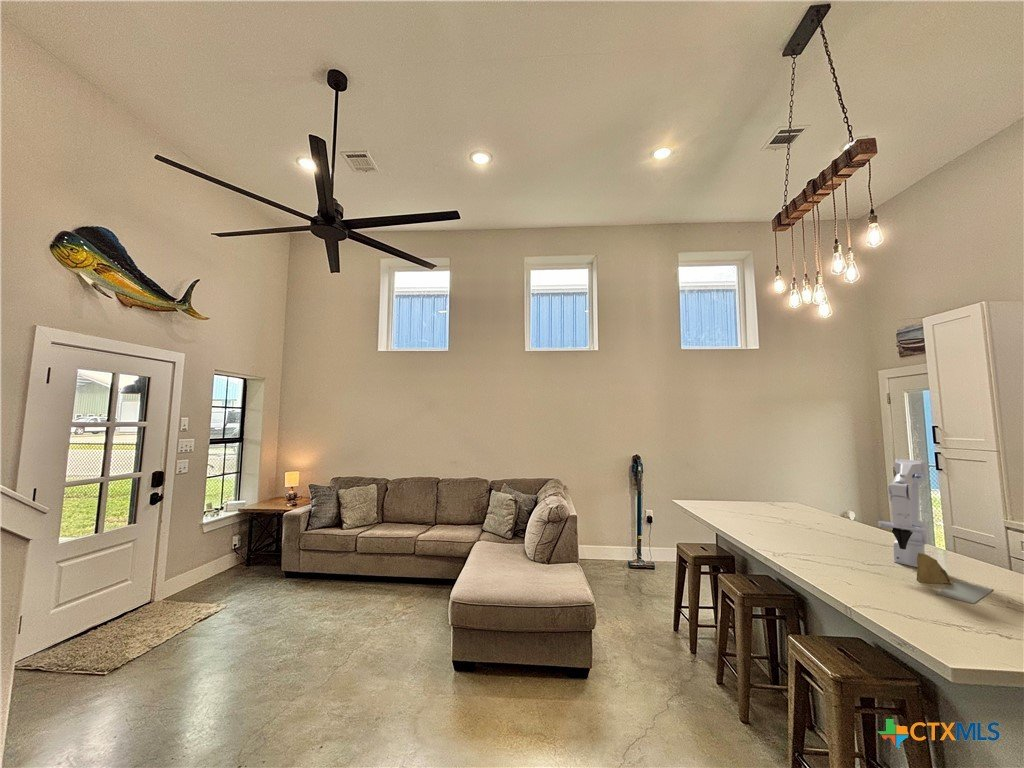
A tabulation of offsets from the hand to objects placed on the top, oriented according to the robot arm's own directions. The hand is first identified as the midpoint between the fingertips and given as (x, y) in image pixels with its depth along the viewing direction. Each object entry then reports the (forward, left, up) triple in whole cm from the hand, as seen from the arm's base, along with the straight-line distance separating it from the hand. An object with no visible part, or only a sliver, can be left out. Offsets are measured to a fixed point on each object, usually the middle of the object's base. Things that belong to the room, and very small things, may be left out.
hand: (902, 548), depth 168 cm
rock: (+8, 0, -10) cm, 13 cm away
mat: (+17, -3, -10) cm, 20 cm away
